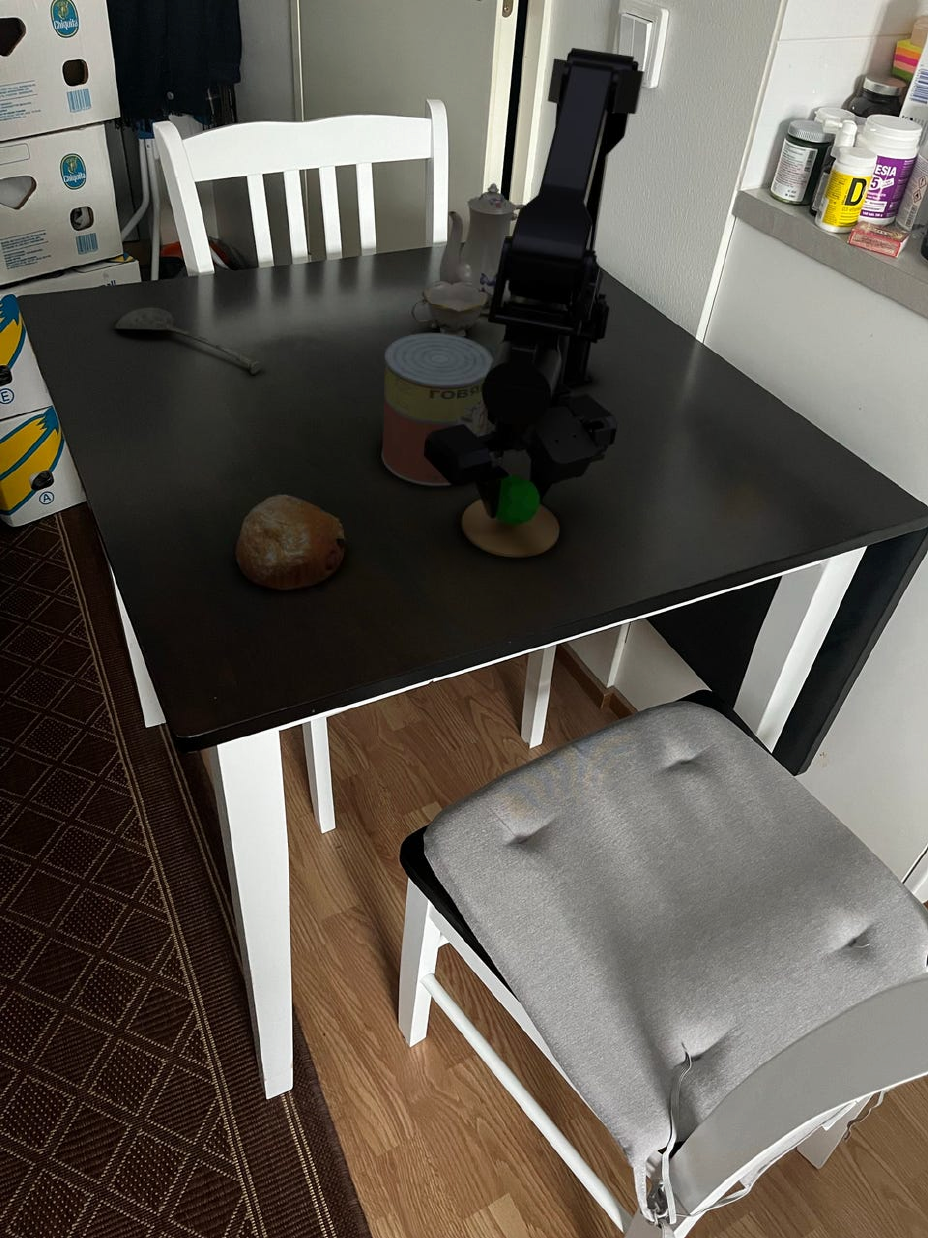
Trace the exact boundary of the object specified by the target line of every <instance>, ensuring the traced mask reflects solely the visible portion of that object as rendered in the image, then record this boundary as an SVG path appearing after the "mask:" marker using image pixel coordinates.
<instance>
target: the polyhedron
mask: <svg viewBox="0 0 928 1238" xmlns="http://www.w3.org/2000/svg"><path fill="white" fill-rule="evenodd" d="M539 501H540V496H539V493H538V491H537V489H536V487H535V485H534V484H533V482H530V480H528V479H526V478H524V477H521V476H519V475H517V474H513V475H510V476H509V477H508V478H506V479H504V480H502V481H501V488H500V496H499V504H498V509H497V513H496V517H497V518H498V519H499V520H502V521H504V522H506V523H508V524H511V525H513V526H515V525H519V524H523V523H525V522H528V521H530V520H531V519H532V518H533V516H534V515H535V514H536V513H537V510H538V508H539Z"/></svg>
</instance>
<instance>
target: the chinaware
mask: <svg viewBox="0 0 928 1238" xmlns="http://www.w3.org/2000/svg"><path fill="white" fill-rule="evenodd" d="M499 191H500V189H499V188H498V186H497V184H496V183H494V182H493V183H491V184H490V186H489V187H488V188H487V191H485V192H483V193H482V194H480V196H475V197H474V198H470V199H469V200H468V201H467V202H466V203H467V207H468V211H469V224H468V231H467V236H466V238H465V242H464V245H463V247H462V242H463V241H462V239H463V233H464V223H463V219H462V217H461V215H460V214H459V213H458V212H457V211H454V210H449V211H448V212H447V214H448V216H449V217H450V218H451V221H452V225H451V230H450V233H449V237H448V239H447V242H446V245H445V248H444V250H443V252H442V256H441V259H440V265H439V280H435V281H434V282H432V283H431V284H430V285H429V286H428V288H427V289H425V290H422V293H421V297H422V298H419V299H417V300H416V301H414V303H413V304H412V306H411V316H412V318H413V319H414V320H415V321H416V322H418V323H422V324H423V323H427V322H432V323H431V324H430V328H431V329H436V328H437V327H439V330H440V332H439V333H443V334H451V335H456V336H460V337H465V336H467V335H466V330H467V329H470V328H471V327H473V325H475V323H476V322H477V320H478V319H479V317H480V316H489V312H490V307H491V302H492V297H493V292H494V287H495V282H496V277H497V271H498V266H499V261H500V256H501V251H502V247H503V243H504V240H505V237H506V236H510V232H511V231H510V230H511V222H514V221H517V217H518V213H516V212H515V211H516V210H520V209H521V208H522V207H523V206H525V205H526V204H514V203H513V202H512V201H510V200H507V199H505V196H504V195H503V194H502V193H500V192H499ZM461 247H462V249H461ZM508 284H509V281H507V282H506V286H505V290H504V294H503V298H502V302H501V306H503V303H504V301H512V302H513V301H514V300H515V299H516V298H518V297H517V296H511V294H510V291H509V290H508ZM420 302H421V304H422V306H425V304H427V307H428V312H429V314H430V318H427V319H418V318H417V317H416V315H415V313H414V311H415V308H416V306H417V304H419V303H420Z"/></svg>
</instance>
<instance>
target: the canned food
mask: <svg viewBox="0 0 928 1238" xmlns="http://www.w3.org/2000/svg"><path fill="white" fill-rule="evenodd" d="M493 359H494V356H493V355H492V354H491V352H490V351H489V350H488V349H487V348H486V347H485V346H483V345H481V344H480V343H479V342H476V341H474V340H472V339H469V338H466V337H465V336H462V337H460V336H456V335H451V334H443V333H441V332H423V333H415V334H410V335H406V336H403V337H400V338H398V339H396V340H395V341H393V342H391V343H390V344H389V345H388V347H387V348H386V349H385V352H384V388H383V389H384V393H383V398H384V399H383V421H382V423H383V424H382V425H383V427H382V449H381V460H382V463H383V465H384V466H385V467H386V468H387V470H388V471H390V472H391V473H392V474H393V475H395V476H397V477H398V478H399V479H402V480H404V481H407V482H409V483H413V484H417V485H420V486H428V487H445V486H447V487H448V486H453V485H452V484H450V483H449V482H448V481H447V480H446V479H445V478H444V477H443V476H442V475H441V473H440V472H439V471H438V470H437V469H436V468H435V467H434V466H433V465H432V464H431V463H430V462H429V461H428V460H427V459H426V458H425V457H424V446H425V439H426V437H427V435H428V434H429V433H431V432H432V431H436V430H440V429H444V428H448V427H452V426H456V425H460V424H465V425H466V426H467V427H468V428H469V429H470V430H471V431H472V432H473V433H474V434H475V435H476V436H477V437H478V436H482V435H486V432H487V423H488V419H487V415H488V410H487V408H486V406H485V405H484V402H483V398H482V385H483V382H484V380H485V377H486V375H487V373H488V370H489V368H490V366H491V363H492V361H493Z"/></svg>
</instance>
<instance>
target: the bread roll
mask: <svg viewBox="0 0 928 1238" xmlns="http://www.w3.org/2000/svg"><path fill="white" fill-rule="evenodd" d="M347 544H348V541H347V539H346V538H345V530H344V527H343V525H342V523H340V519H339V518H338V517H335V516H334V515H333V514H331V513H329V512H326V511H324V510H323V509H321V508H320V507H318V506H317V505H315V504H313V503H311V502H308V501H305V500H303V499H301V498H298V497H295V496H292V495H288V494H287V493H286V494H276V495H273V496H270V497H267V498H266V499H265V500H263V501H262V502H260V503H258V504H257V505H256V506H254V507H253V508H252V509H251V510H250V512H249V513H248V515H246V516H245V517H244V520H243V522H242V524H241V528H240V532H239V536H238V539H237V541H236V546H235V558H236V563H237V564H238V567H239V569H240V571H241V574H243V575H244V576H245V578H247V579H248V580H250V581H251V582H252V583H254V584H256V585H259V586H260V587H261V586H262V587H265V588H269V589H272V590H279V591H288V590H295V589H302V588H308V587H311V586H315V585H317V584H319V583H321V582H323V581H325V580H326V579H328V578H329V577H331V576H332V575H333V574H334V573H336V571H337V570H338V569H339V568H340V566H341V563H342V561H343V559H344V556H345V552H346V551H345V549H346V546H347Z"/></svg>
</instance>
